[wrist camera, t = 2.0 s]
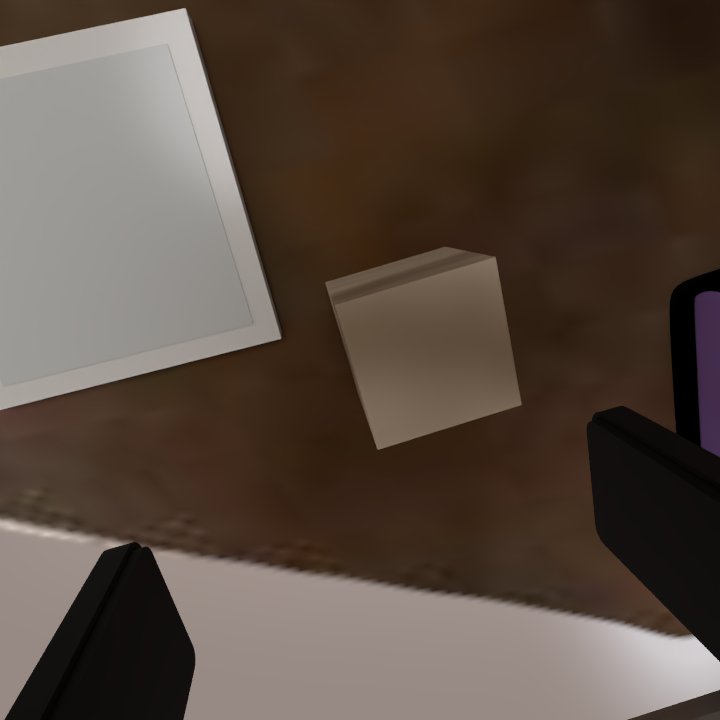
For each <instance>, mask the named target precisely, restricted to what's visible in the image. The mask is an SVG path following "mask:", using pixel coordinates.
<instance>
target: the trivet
mask: <svg viewBox="0 0 720 720" xmlns="http://www.w3.org/2000/svg"><path fill="white" fill-rule="evenodd" d="M281 338H282V330H281V327H280V323H279V320H278V316H277V313H276V310H275V306H274V303H273V299H272V296H271V292H270V289H269V285H268V282H267V278H266V275H265V271H264V268H263V265H262V261H261V258H260V254H259V251H258V247H257V244H256V240H255V237H254V233H253V230H252V226H251V223H250V220H249V216H248V213H247V209H246V206H245V202H244V199H243V195H242V192H241V188H240V185H239V181H238V178H237V175H236V171H235V168H234V164H233V161H232V157H231V154H230V150H229V147H228V143H227V140H226V136H225V133H224V130H223V126H222V123H221V119H220V116H219V112H218V109H217V105H216V102H215V98H214V95H213V91H212V88H211V85H210V81H209V78H208V74H207V71H206V67H205V64H204V60H203V57H202V53H201V50H200V46H199V43H198V40H197V36H196V33H195V29H194V26H193V22H192V20H191V18H190V16H189V14H188V12H187V10H186V8H184V9H179V10H174V11H170V12H165V13H160V14H155V15H150V16H146V17H141V18H136V19H131V20H127V21H122V22H117V23H112V24H108V25H103V26H98V27H93V28H88V29H84V30H79V31H74V32H69V33H65V34H60V35H55V36H50V37H46V38H41V39H36V40H31V41H26V42H22V43H17V44H12V45H7V46H3V47H0V410H2V409H6V408H10V407H14V406H18V405H22V404H25V403H29V402H33V401H37V400H41V399H45V398H49V397H53V396H57V395H61V394H65V393H69V392H73V391H77V390H81V389H85V388H89V387H93V386H97V385H101V384H105V383H108V382H112V381H116V380H120V379H124V378H128V377H132V376H136V375H140V374H144V373H148V372H152V371H156V370H160V369H164V368H168V367H172V366H176V365H180V364H184V363H187V362H191V361H195V360H199V359H203V358H207V357H211V356H215V355H219V354H223V353H227V352H231V351H235V350H239V349H243V348H247V347H251V346H255V345H259V344H263V343H267V342H270V341H274V340H278V339H281Z"/></svg>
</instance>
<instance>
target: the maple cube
mask: <svg viewBox="0 0 720 720" xmlns="http://www.w3.org/2000/svg"><path fill="white" fill-rule="evenodd" d="M325 284H326V288H327V291H328V294H329V298H330V301H331V304H332V308H333V311H334V314H335V318H336V321H337V324H338V328H339V331H340V334H341V338H342V341H343V345H344V348H345V351H346V355H347V358H348V361H349V365H350V368H351V371H352V375H353V378H354V381H355V385H356V388H357V391H358V395H359V398H360V401H361V404H362V406H363V409H364V412H365V415H366V418H367V421H368V424H369V426H370V429H371V432H372V435H373V438H374V441H375V444H376V447H377V449H378V450H379V449H382V448H385V447H389V446H392V445H395V444H398V443H401V442H405V441H408V440H411V439H414V438H417V437H421V436H424V435H427V434H430V433H433V432H437V431H440V430H443V429H446V428H449V427H453V426H456V425H459V424H462V423H465V422H469V421H472V420H475V419H478V418H481V417H485V416H488V415H491V414H494V413H497V412H501V411H504V410H507V409H510V408H513V407H517V406H520V405H522V404H521V399H520V393H519V387H518V382H517V376H516V370H515V365H514V359H513V353H512V347H511V342H510V336H509V330H508V325H507V319H506V313H505V308H504V302H503V296H502V291H501V285H500V279H499V273H498V268H497V262H496V257H493V256H488V255H483V254H479V253H474V252H469V251H464V250H459V249H454V248H449V247H443V248H439V249H436V250H433V251H429V252H426V253H423V254H419V255H416V256H412V257H409V258H406V259H402V260H399V261H396V262H392V263H389V264H385V265H382V266H379V267H375V268H372V269H369V270H365V271H362V272H358V273H355V274H352V275H348V276H345V277H342V278H338V279H335V280H331V281H328V282H325Z"/></svg>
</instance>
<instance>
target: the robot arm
mask: <svg viewBox="0 0 720 720" xmlns="http://www.w3.org/2000/svg"><path fill="white" fill-rule="evenodd" d="M587 438H588V449H589V460H590V471H591V482H592V493H593V504H594V515H595V525H596V530H597V533H598V535H599V537H600V539H601V541H602V542H603V543H604V545H605V546H606V547H607V548H608V549H609V550H610V551H611V552H612V553H613V554H614V555H615V556H616V557H617V558H618V559H619V560H620V561H621V562H622V563H623V564H624V565H625V566H626V567H627V568H628V569H629V570H630V571H631V572H632V573H633V574H634V575H635V576H636V577H637V578H638V579H639V580H640V581H641V582H642V583H643V584H644V585H645V586H646V587H647V588H648V589H649V590H650V591H651V592H652V593H653V594H654V595H655V596H656V597H657V598H658V599H659V600H660V601H661V603H662V604H663V605H664V606H665V607H666V608H667V609H668V610H669V611H670V612H671V613H672V614H673V615H674V616H675V617H676V618H677V619H678V620H679V621H680V622H681V623H682V624H683V625H684V626H685V627H686V628H687V629H688V630H689V631H690V632H691V633H692V634H693V635H694V636H695V637H696V638H697V639H698V640H699V641H700V642H701V643H702V644H703V645H704V646H705V647H706V648H707V649H708V650H709V651H710V652H711V653H712V654H713V655H714V656H715V657H716V658H717V659H718V660H719V661H720V457H719V456H717V455H715V454H713V453H711V452H709V451H707V450H706V449H704V448H702V447H700V446H698V445H696V444H694V443H692V442H691V441H689V440H687V439H685V438H683V437H681V436H679V435H677V434H676V433H674V432H672V431H670V430H668V429H666V428H664V427H663V426H661V425H659V424H657V423H655V422H653V421H651V420H649V419H648V418H646V417H644V416H642V415H640V414H638V413H636V412H634V411H633V410H631V409H629V408H627V407H624V406H619V407H615V408H611V409H608V410H604V411H601V412H597V413H595V414H594V415H593V418H592V421H591V422H589V423H588V424H587ZM194 669H195V652H194V648H193V645H192V643H191V640H190V638H189V636H188V633H187V632H186V629H185V627H184V624H183V622H182V620H181V618H180V615H179V613H178V611H177V608H176V606H175V604H174V601H173V599H172V597H171V595H170V592H169V590H168V588H167V585H166V583H165V581H164V579H163V576H162V574H161V572H160V569H159V567H158V565H157V562H156V560H155V558H154V556H153V553H152V551H151V550H150V548H148V547H141V546H140V545H139V544H138V543H136V542H133V543H129V544H126V545H122V546H119V547H115V548H112V549H108V550H106V551H104V552H103V553H102V554H101V556H100V558H99V559H98V561H97V563H96V565H95V566H94V568H93V570H92V571H91V573H90V575H89V577H88V578H87V580H86V582H85V583H84V585H83V587H82V588H81V590H80V592H79V594H78V595H77V597H76V599H75V600H74V602H73V604H72V605H71V607H70V609H69V611H68V612H67V614H66V616H65V618H64V619H63V621H62V623H61V624H60V626H59V628H58V629H57V631H56V633H55V634H54V636H53V638H52V640H51V641H50V643H49V645H48V646H47V648H46V650H45V652H44V653H43V655H42V657H41V658H40V660H39V662H38V663H37V665H36V667H35V669H34V670H33V672H32V674H31V675H30V677H29V679H28V681H27V682H26V684H25V686H24V687H23V689H22V691H21V692H20V694H19V696H18V698H17V699H16V701H15V703H14V704H13V706H12V708H11V710H10V711H9V713H8V715H7V716H6V718H5V720H183V719H184V714H185V710H186V705H187V701H188V696H189V691H190V687H191V683H192V678H193V673H194ZM628 720H720V690H719V691H716V692H712V693H709V694H706V695H703V696H700V697H697V698H694V699H691V700H688V701H685V702H681V703H678V704H675V705H672V706H669V707H666V708H663V709H660V710H656V711H653V712H650V713H647V714H644V715H641V716H638V717H635V718H632V719H628Z"/></svg>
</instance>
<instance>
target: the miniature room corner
mask: <svg viewBox="0 0 720 720" xmlns="http://www.w3.org/2000/svg"><path fill="white" fill-rule="evenodd" d="M670 335H671V355H672V372H673V388H674V404H675V418H676V431H677V435H679V436H681V437H683V438H685V439H687V440H689V441H691V442H692V443H694V444H696V445H698V446H700V447H702V448H704V449H706V450H707V451H709V452H711V453H713V454H715V455H717V456H719V457H720V269H718V270H715V271H712V272H709V273H706V274H703V275H700V276H698V277H695V278H692V279H690V280H687V281H685V282H683V283H682V284H680V285H678V286H677V287H676V288H675V289H674V291H673V293H672V295H671V300H670Z"/></svg>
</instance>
